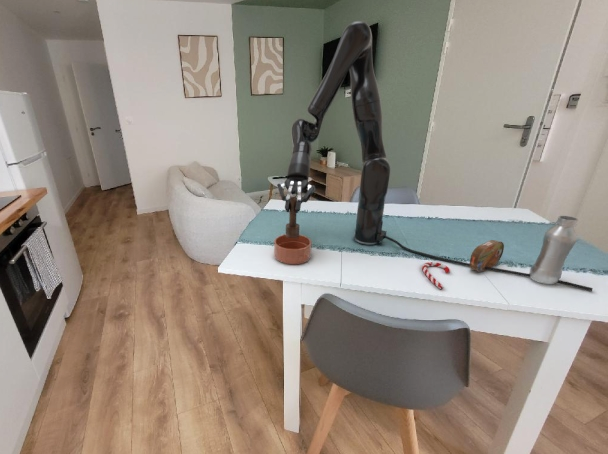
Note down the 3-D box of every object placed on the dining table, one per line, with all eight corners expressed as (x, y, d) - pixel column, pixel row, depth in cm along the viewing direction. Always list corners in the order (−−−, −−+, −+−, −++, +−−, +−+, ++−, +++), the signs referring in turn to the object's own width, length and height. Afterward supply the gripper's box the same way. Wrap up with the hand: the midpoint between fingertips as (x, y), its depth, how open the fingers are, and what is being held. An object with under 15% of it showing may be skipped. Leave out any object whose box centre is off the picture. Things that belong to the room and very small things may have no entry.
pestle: (300, 233, 105) (301, 196, 99) (297, 239, 101) (299, 200, 95) (287, 232, 106) (287, 195, 101) (284, 237, 102) (284, 199, 96)
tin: (475, 275, 90) (482, 251, 87) (464, 271, 92) (471, 247, 89) (500, 262, 96) (508, 239, 93) (489, 258, 99) (497, 236, 95)
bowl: (312, 250, 110) (313, 235, 108) (307, 267, 99) (308, 251, 96) (278, 246, 114) (278, 232, 112) (270, 262, 103) (270, 247, 101)
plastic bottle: (520, 276, 89) (544, 214, 81) (541, 274, 89) (566, 213, 81) (542, 288, 83) (569, 223, 75) (564, 286, 83) (593, 221, 75)
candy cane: (428, 284, 85) (420, 259, 98) (427, 287, 85) (419, 263, 98) (459, 288, 82) (447, 263, 95) (458, 292, 83) (446, 266, 95)
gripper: (278, 161, 102) (269, 205, 96) (318, 162, 98) (312, 208, 92) (281, 173, 109) (273, 214, 103) (319, 174, 105) (313, 218, 99)
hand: (292, 211), depth 98 cm, fingers closed on pestle, 2 cm apart
